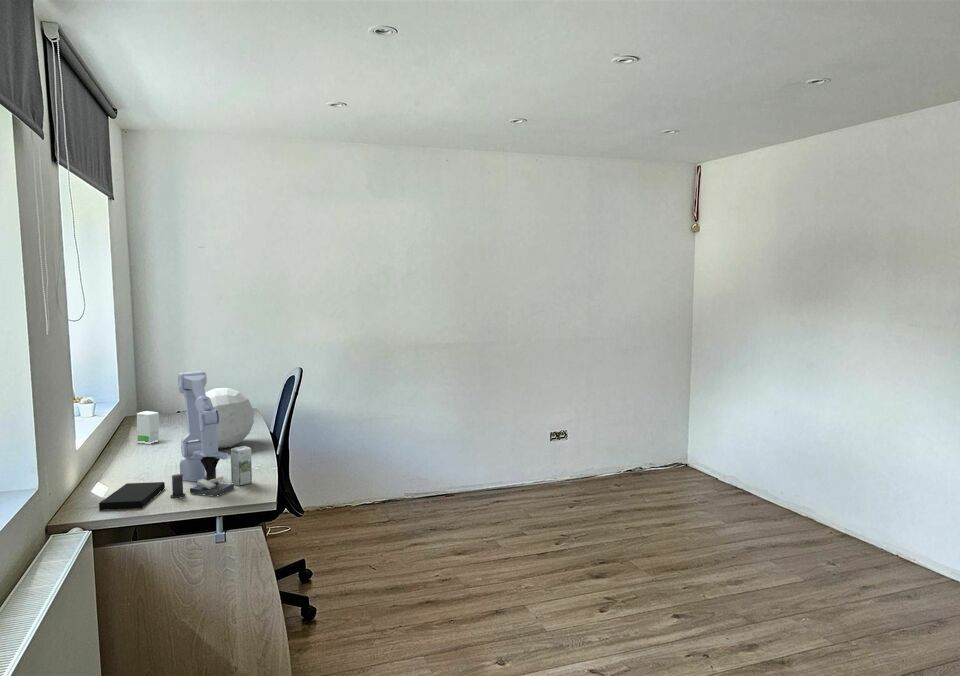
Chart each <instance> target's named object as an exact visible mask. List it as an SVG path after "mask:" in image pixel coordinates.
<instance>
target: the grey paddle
mask: <svg viewBox="0 0 960 676" xmlns="http://www.w3.org/2000/svg"><path fill="white" fill-rule="evenodd" d="M196 484H197V485H201V486H204V487H206V488H208V489H211V488H213V487H215V486H216V484H214V483H212V482H210V481H207V480H206V478H205V479H201V480H199V481H197V482H196Z"/></svg>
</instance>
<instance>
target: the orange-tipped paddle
mask: <svg viewBox="0 0 960 676" xmlns="http://www.w3.org/2000/svg"><path fill="white" fill-rule="evenodd" d="M223 480H224V476H219V477H216V479H212V480H209V481H210V482H212V483H214V482H220V481H223Z"/></svg>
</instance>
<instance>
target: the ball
mask: <svg viewBox="0 0 960 676" xmlns="http://www.w3.org/2000/svg"><path fill="white" fill-rule="evenodd" d="M205 394H206V396H207V397H209V398H210V400H211V402H212V405H213V407H214V408H216V409H217V410H218V413H219V423H218V424H217V436H218V449H228V448H227V447H230V448H231V447H235V446H236V445H238V444H240V443H242V442H243V441H244V439H246V438H247V437H248V435H249V434H250V433H251V430H252V427H253V425H254V423H255V422H254V421H255V419H254V415H255V414H254V413H255V411H254V410H255V409H254V408H253V406H252V404H251V402H250V400H249V399H248V398H247V397H246V396H245V395H244V394H243V393H242V392H241V391H239V390H235V389H233V388H230V387H216V388H213V389H210V390H208V391H205ZM200 432H201V430H200ZM197 441H201V440H200V439H198V440H197Z"/></svg>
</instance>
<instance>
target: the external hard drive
mask: <svg viewBox="0 0 960 676" xmlns="http://www.w3.org/2000/svg"><path fill="white" fill-rule="evenodd" d="M164 488H166V485H165V481H154V482H151V481H150V482H133V483H132V482H128V483H125V484H124V485H122V486H121V487H120V488H118V489H117V490H115V491H114V492H112V494H110V495H108V496H107V497H106V498H104V499H103V500H101V501H100V502H99V503H98V510H99V511H103V510H102V509H106V510H105V511H108V510H107V509H110V511H111V509H113V510H133V509H136V510H137V509H143V508H144V507H145V506H147V503H148V502H149V501H150V500H151V499H152V500H153V499H155V498H156V497H157V496H158V495H159V494H160V493H161V492H163V491H164V490H165V489H164ZM163 489H164V490H163ZM162 490H163V491H162ZM160 491H161V492H160ZM159 492H160V493H159ZM158 493H159V494H158ZM157 494H158V495H157ZM156 495H157V496H156ZM155 496H156V497H155ZM154 497H155V498H154ZM152 500H151V501H152ZM151 501H150V502H151ZM150 502H149V503H150ZM149 503H148V504H149ZM113 510H112V511H113Z"/></svg>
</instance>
